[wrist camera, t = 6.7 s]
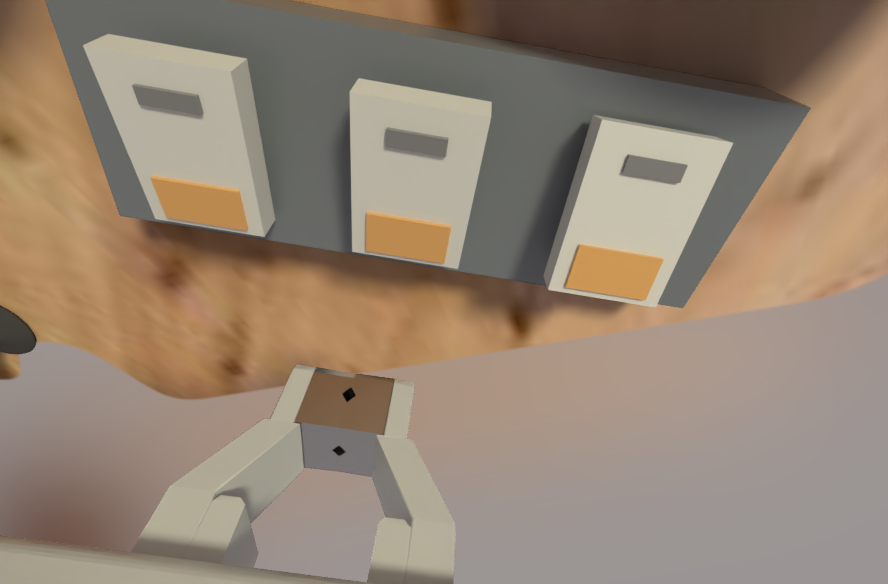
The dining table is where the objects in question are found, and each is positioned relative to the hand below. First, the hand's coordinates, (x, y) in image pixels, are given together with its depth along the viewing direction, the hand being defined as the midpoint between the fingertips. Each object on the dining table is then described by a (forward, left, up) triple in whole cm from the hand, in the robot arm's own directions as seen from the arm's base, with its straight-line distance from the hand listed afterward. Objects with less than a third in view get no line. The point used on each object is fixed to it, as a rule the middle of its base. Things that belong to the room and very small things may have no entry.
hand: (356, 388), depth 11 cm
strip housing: (0, +2, -12) cm, 12 cm away
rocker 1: (-8, +2, -8) cm, 12 cm away
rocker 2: (0, +2, -8) cm, 9 cm away
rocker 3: (+8, +2, -8) cm, 12 cm away
